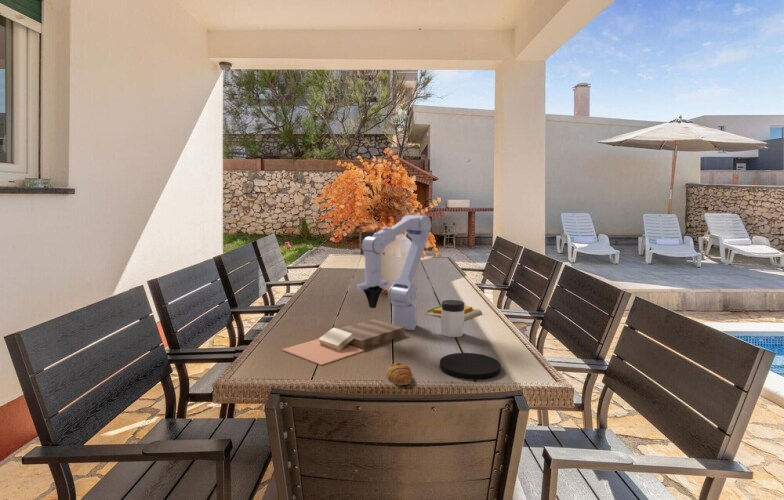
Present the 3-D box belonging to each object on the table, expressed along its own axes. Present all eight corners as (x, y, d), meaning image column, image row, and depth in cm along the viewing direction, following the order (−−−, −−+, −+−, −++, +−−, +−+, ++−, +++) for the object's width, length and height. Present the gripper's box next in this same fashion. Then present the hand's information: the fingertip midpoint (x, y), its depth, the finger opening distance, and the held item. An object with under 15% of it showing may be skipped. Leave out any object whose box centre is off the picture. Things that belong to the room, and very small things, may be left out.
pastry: (417, 386, 128) (417, 372, 127) (392, 388, 126) (392, 375, 126) (407, 373, 137) (407, 360, 136) (384, 375, 135) (384, 362, 135)
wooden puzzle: (446, 307, 217) (446, 300, 216) (483, 314, 205) (483, 306, 204) (423, 315, 203) (423, 307, 203) (461, 323, 191) (462, 314, 191)
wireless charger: (469, 355, 153) (469, 349, 153) (513, 372, 139) (513, 365, 139) (427, 366, 142) (427, 360, 142) (470, 386, 128) (470, 379, 128)
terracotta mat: (324, 338, 168) (324, 337, 168) (364, 351, 155) (364, 350, 154) (281, 350, 155) (281, 349, 154) (321, 365, 141) (321, 364, 141)
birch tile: (335, 332, 165) (333, 327, 164) (354, 338, 158) (352, 333, 157) (320, 343, 160) (318, 338, 160) (339, 350, 154) (337, 345, 153)
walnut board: (373, 326, 183) (373, 318, 183) (404, 335, 172) (404, 327, 172) (329, 339, 167) (329, 330, 166) (361, 349, 156) (361, 340, 156)
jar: (443, 329, 180) (444, 298, 178) (465, 331, 177) (466, 300, 176) (438, 336, 171) (439, 304, 170) (461, 338, 169) (462, 305, 167)
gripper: (366, 273, 161) (366, 313, 162) (394, 269, 171) (394, 305, 173) (352, 271, 165) (352, 309, 167) (380, 266, 176) (380, 302, 178)
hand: (372, 307), depth 170 cm, fingers closed
